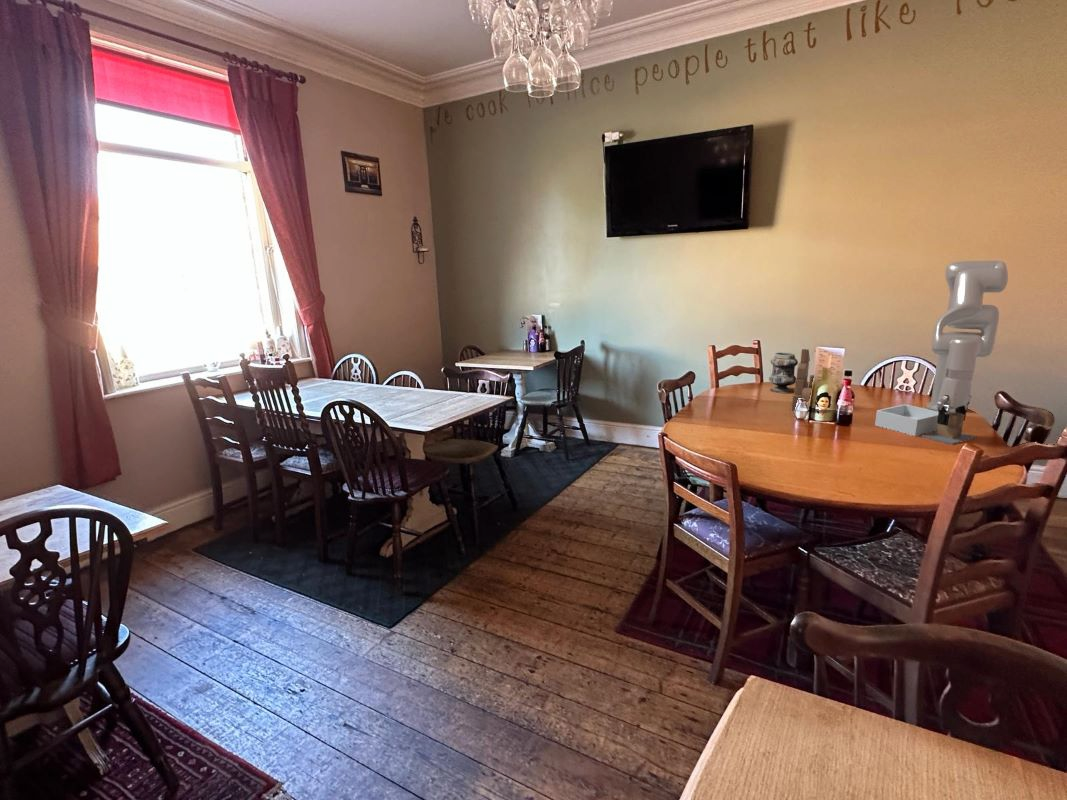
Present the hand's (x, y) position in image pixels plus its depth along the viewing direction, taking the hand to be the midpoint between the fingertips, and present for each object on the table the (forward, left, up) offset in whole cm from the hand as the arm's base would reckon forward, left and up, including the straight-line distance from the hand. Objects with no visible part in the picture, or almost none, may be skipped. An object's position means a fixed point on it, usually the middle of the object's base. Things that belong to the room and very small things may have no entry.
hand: (950, 422), depth 188 cm
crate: (0, -13, -6) cm, 14 cm away
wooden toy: (+9, -51, -6) cm, 52 cm away
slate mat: (0, 0, -6) cm, 6 cm away
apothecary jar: (-6, -76, -6) cm, 77 cm away
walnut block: (0, 0, -5) cm, 5 cm away
